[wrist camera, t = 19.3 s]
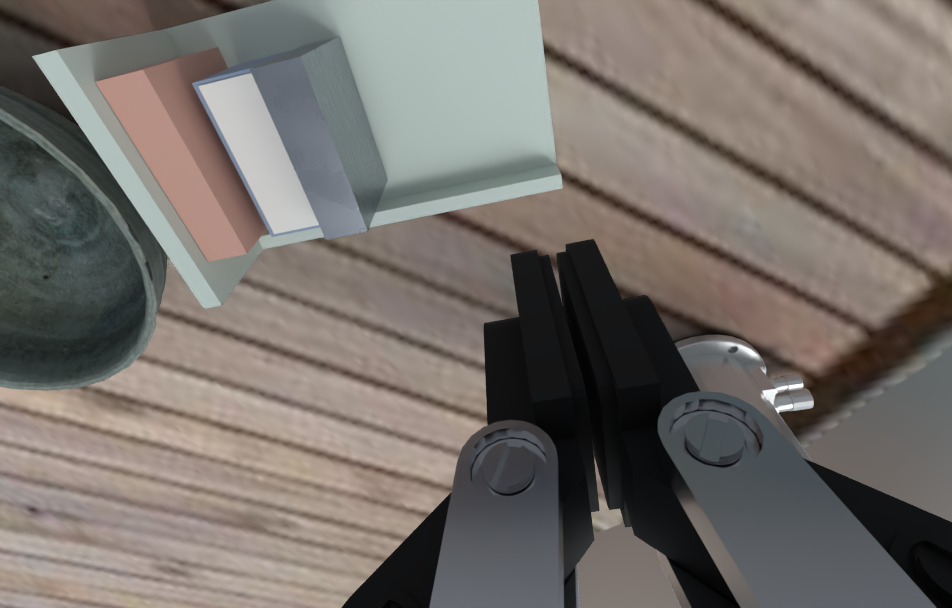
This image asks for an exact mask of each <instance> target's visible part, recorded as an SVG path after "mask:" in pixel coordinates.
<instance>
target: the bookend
mask: <svg viewBox="0 0 952 608" xmlns="http://www.w3.org/2000/svg"><path fill="white" fill-rule="evenodd" d="M250 71H251V73H252V75H253V78H254V80H255V82H256V84H257V87H258V89H259V91H260V93H261V96H262V98H263V100H264V102H265V105H266V107H267V109H268V111H269V114H270V116H271V118H272V120H273V122H274V125H275V127H276V129H277V131H278V134H279V136H280V138H281V140H282V143H283V145H284V147H285V149H286V152H287V154H288V156H289V158H290V161H291V163H292V165H293V167H294V170H295V172H296V174H297V176H298V179H299V181H300V183H301V185H302V187H303V190H304V192H305V194H306V196H307V199H308V201H309V203H310V205H311V208H312V210H313V212H314V214H315V217H316V219H317V221H318V223H319V226H320V228H321V230H322V232H323V235H324V237H325V239H326V240H328V239H333V238H338V237H343V236H348V235H353V234H358V233H363V232H368V230H369V227H370V224H371V222H372V219H373V217H374V214H375V212H376V209H377V206H378V204H379V201H380V199H381V196H382V194H383V191H384V188H385V186H386V183H387V181H388V179H387V176H386V173H385V170H384V167H383V164H382V161H381V158H380V155H379V152H378V149H377V146H376V143H375V140H374V137H373V134H372V131H371V128H370V125H369V122H368V119H367V116H366V113H365V110H364V107H363V104H362V101H361V98H360V95H359V92H358V89H357V86H356V83H355V80H354V77H353V74H352V71H351V68H350V65H349V62H348V59H347V56H346V53H345V50H344V47H343V44H342V41H341V38H340V37H336V38H332V39H328V40H324V41H320V42H316V43H312V44H308V45H304V46H300V47H298V48H296V49H294V50H291V51H289V52H287V53H285V54H283V55H280V56H278V57H276V58H274V59H271V60H269V61H267V62H265V63H263V64H260V65H258V66H256V67H254V68H251V69H250Z"/></svg>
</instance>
